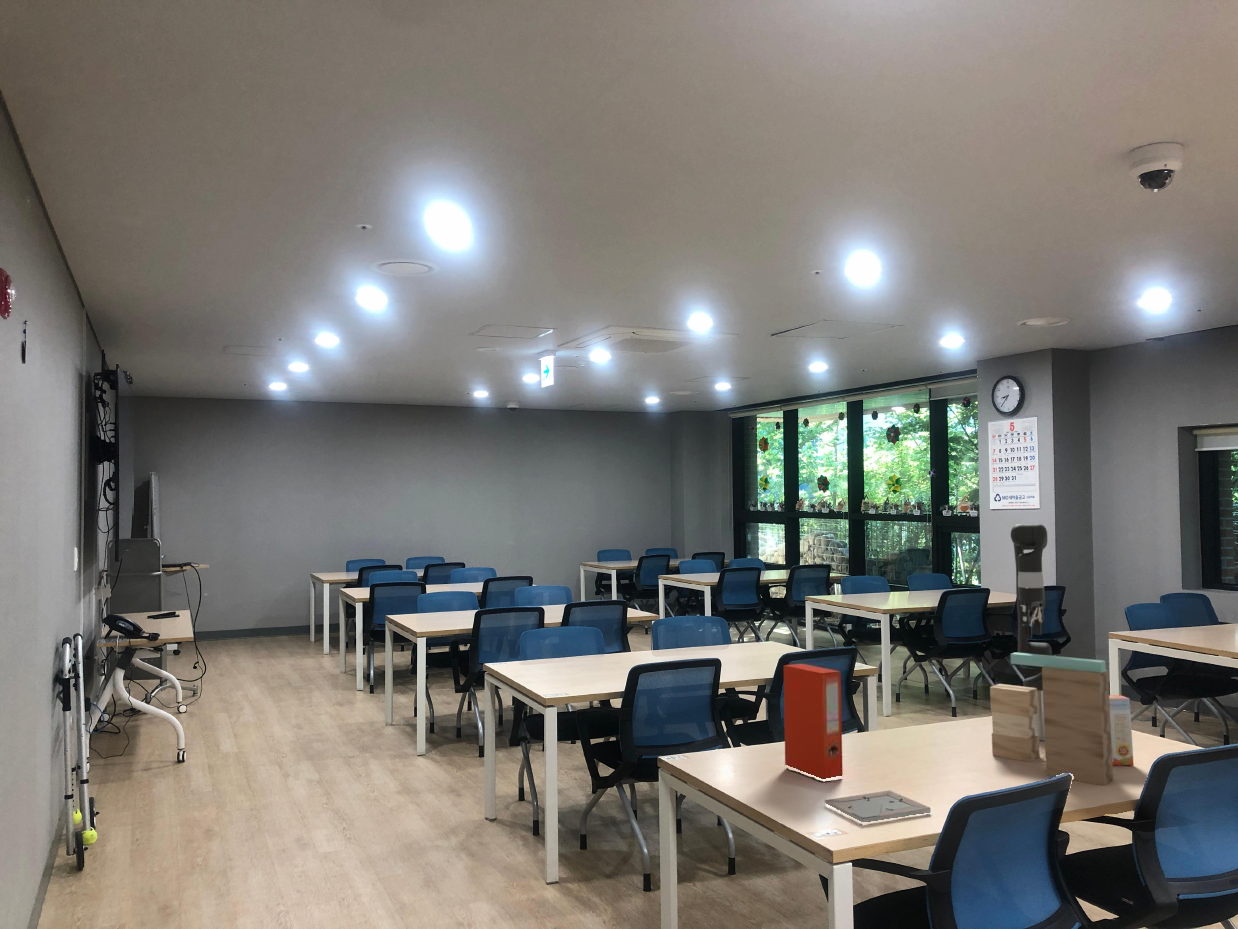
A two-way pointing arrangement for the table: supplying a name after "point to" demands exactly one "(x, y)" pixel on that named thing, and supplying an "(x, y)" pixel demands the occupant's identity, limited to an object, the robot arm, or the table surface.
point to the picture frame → (878, 806)
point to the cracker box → (1121, 730)
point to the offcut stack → (1014, 722)
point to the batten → (1058, 662)
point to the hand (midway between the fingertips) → (1033, 636)
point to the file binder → (813, 720)
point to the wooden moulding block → (1077, 724)
